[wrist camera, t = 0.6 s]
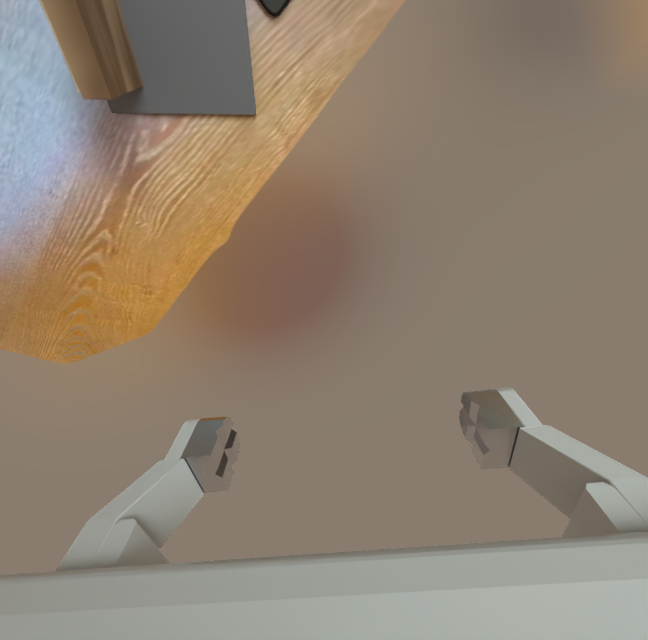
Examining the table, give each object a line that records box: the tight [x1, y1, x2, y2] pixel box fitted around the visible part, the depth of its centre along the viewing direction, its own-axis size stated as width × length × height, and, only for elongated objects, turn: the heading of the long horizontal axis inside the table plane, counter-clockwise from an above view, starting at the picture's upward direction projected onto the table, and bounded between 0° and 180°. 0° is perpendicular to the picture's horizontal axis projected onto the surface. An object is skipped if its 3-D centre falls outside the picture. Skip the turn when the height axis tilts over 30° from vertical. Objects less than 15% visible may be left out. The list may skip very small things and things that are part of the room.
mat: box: [108, 0, 256, 115], centre depth 36 cm, size 19×14×1 cm
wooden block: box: [39, 0, 143, 100], centre depth 31 cm, size 3×8×12 cm, turn 178°
